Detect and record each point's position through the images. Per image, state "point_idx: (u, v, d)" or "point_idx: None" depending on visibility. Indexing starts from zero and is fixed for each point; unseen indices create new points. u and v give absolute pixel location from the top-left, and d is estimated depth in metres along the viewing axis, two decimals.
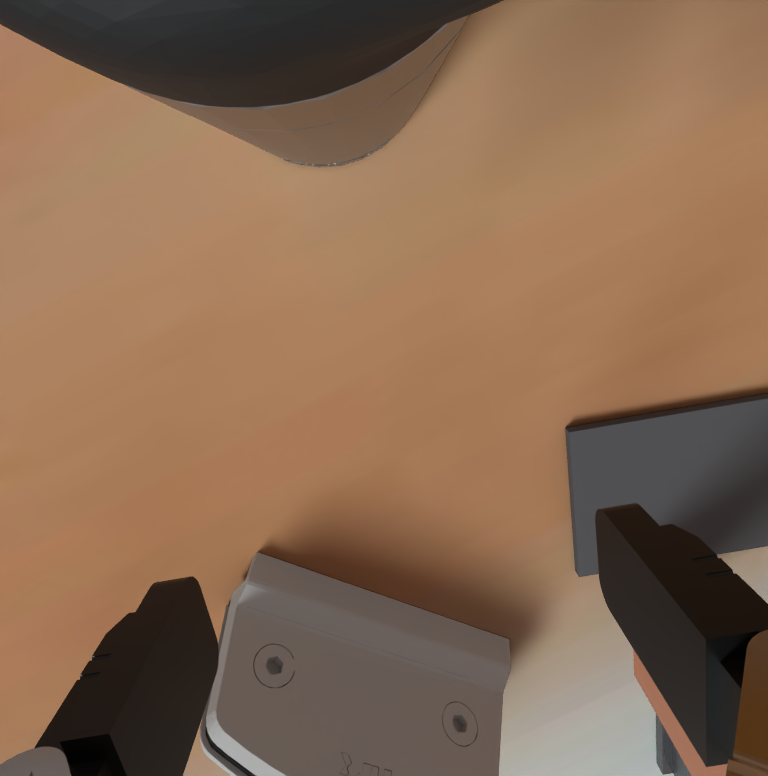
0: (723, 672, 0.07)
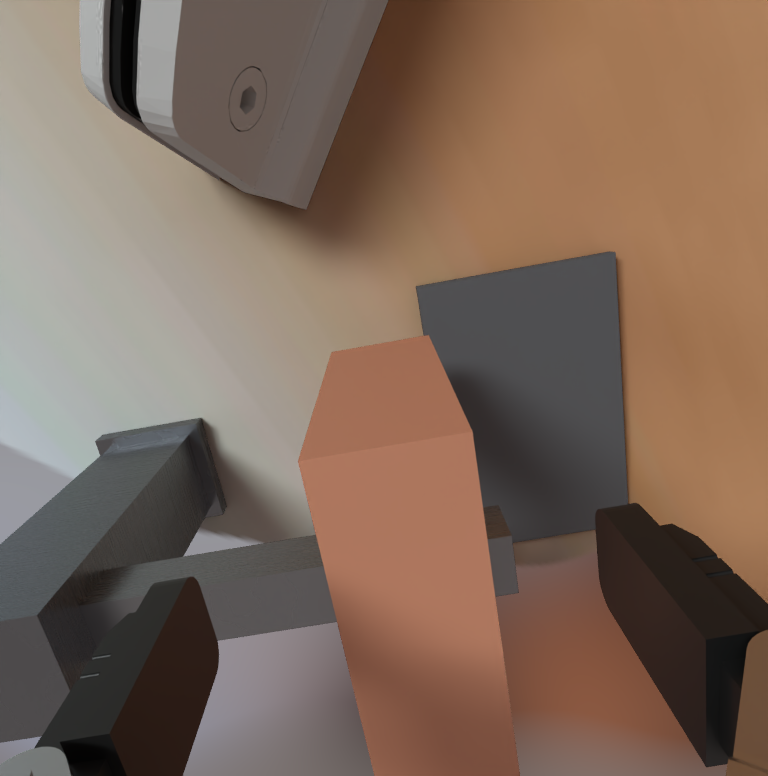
0: (722, 671, 0.07)
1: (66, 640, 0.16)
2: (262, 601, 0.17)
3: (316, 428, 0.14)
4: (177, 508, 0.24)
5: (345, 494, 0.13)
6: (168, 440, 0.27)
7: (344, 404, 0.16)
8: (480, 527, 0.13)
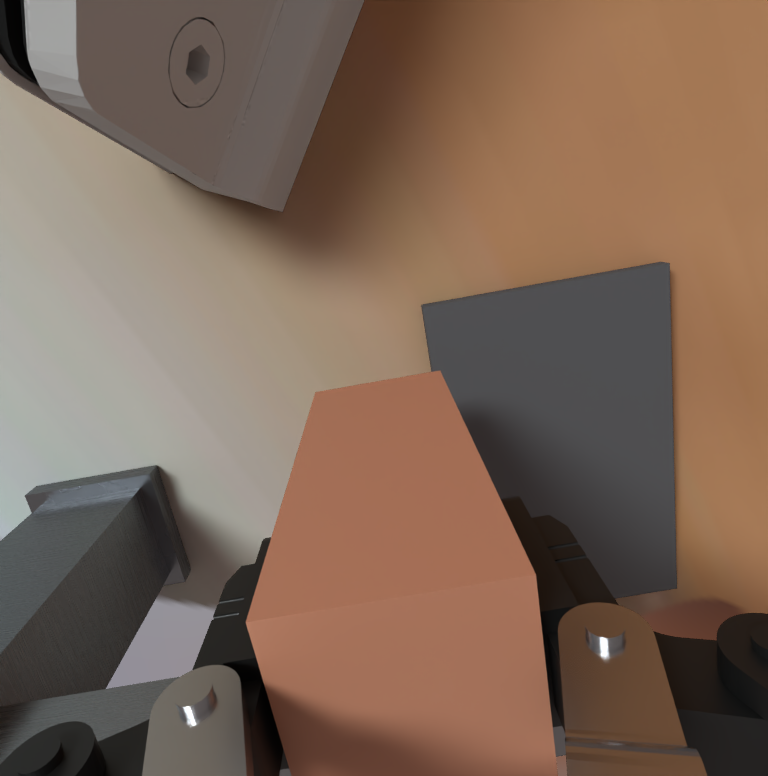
0: (550, 641, 0.08)
1: None
2: None
3: (282, 541, 0.09)
4: (121, 587, 0.19)
5: (325, 671, 0.08)
6: (115, 495, 0.22)
7: (327, 492, 0.11)
8: (543, 717, 0.08)
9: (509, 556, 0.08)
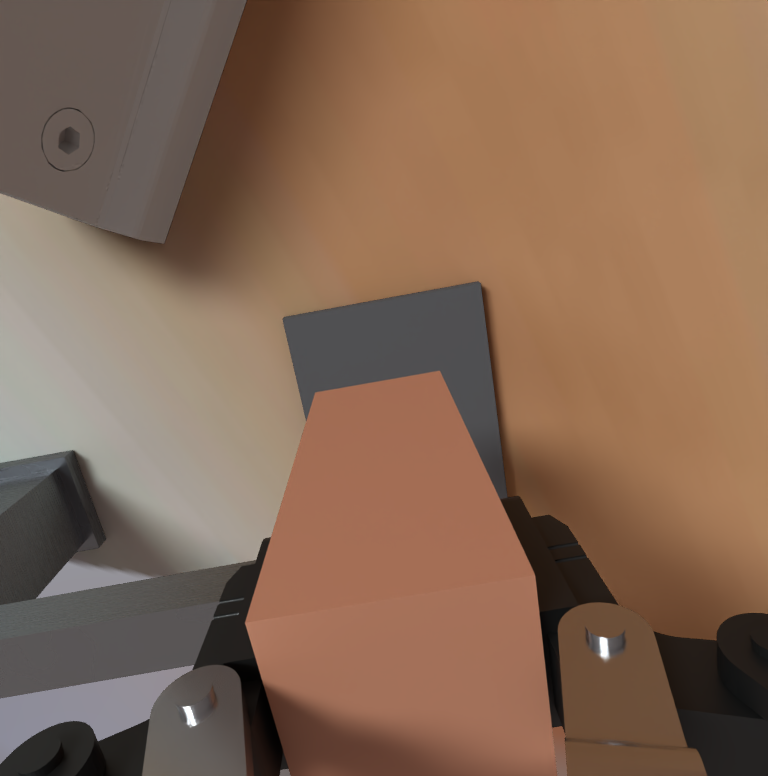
0: (550, 642, 0.08)
1: None
2: (59, 655, 0.16)
3: (282, 542, 0.09)
4: (34, 546, 0.24)
5: (324, 671, 0.08)
6: (36, 474, 0.26)
7: (326, 492, 0.11)
8: (542, 717, 0.08)
9: (508, 557, 0.08)
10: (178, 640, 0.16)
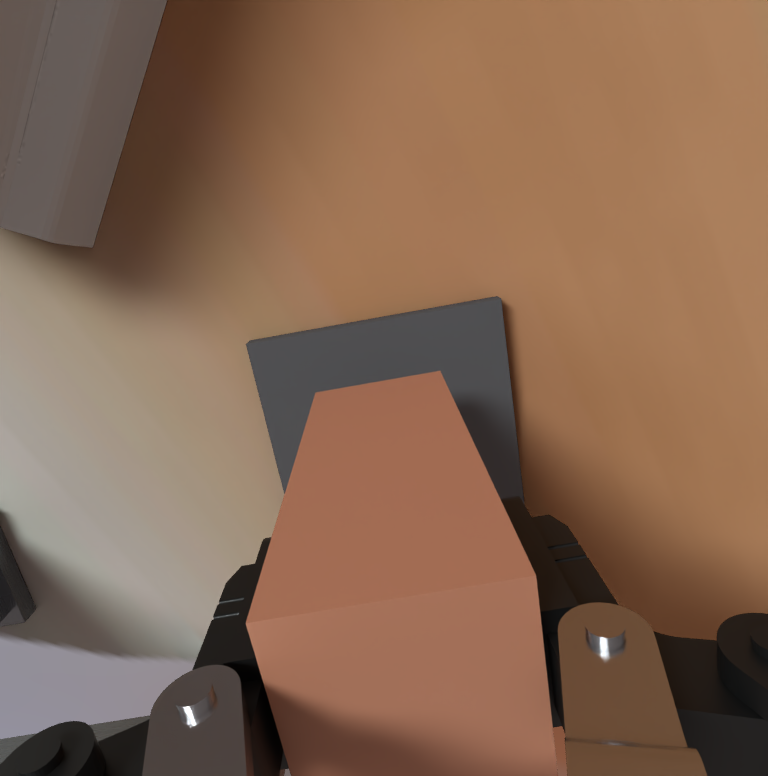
0: (551, 641, 0.08)
1: None
2: None
3: (283, 542, 0.09)
4: None
5: (325, 672, 0.08)
6: None
7: (327, 492, 0.11)
8: (543, 718, 0.08)
9: (509, 557, 0.08)
10: None
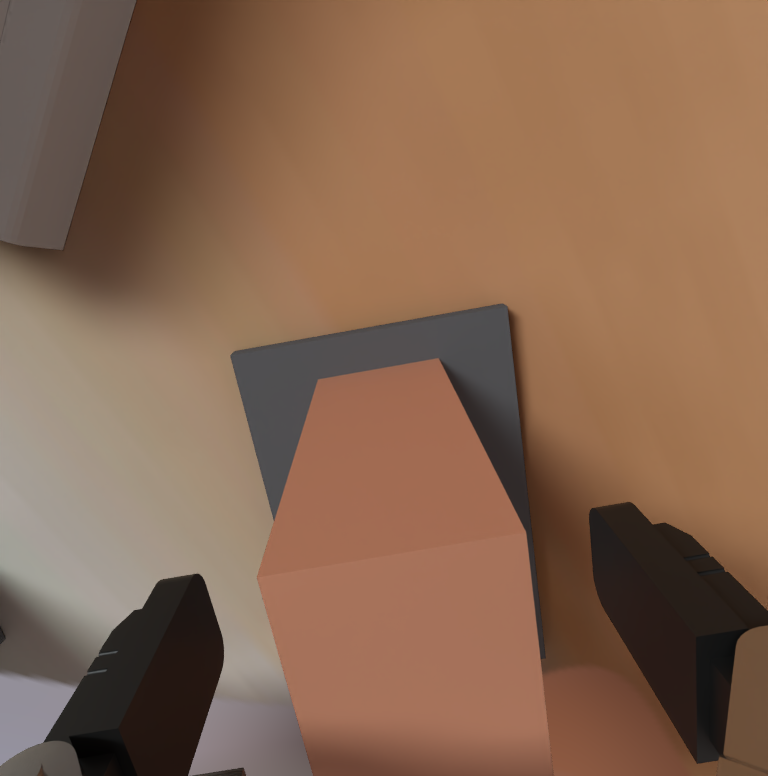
0: (713, 669, 0.07)
1: None
2: None
3: (290, 509, 0.10)
4: None
5: (330, 624, 0.08)
6: None
7: (330, 466, 0.11)
8: (534, 668, 0.09)
9: (502, 517, 0.09)
10: None
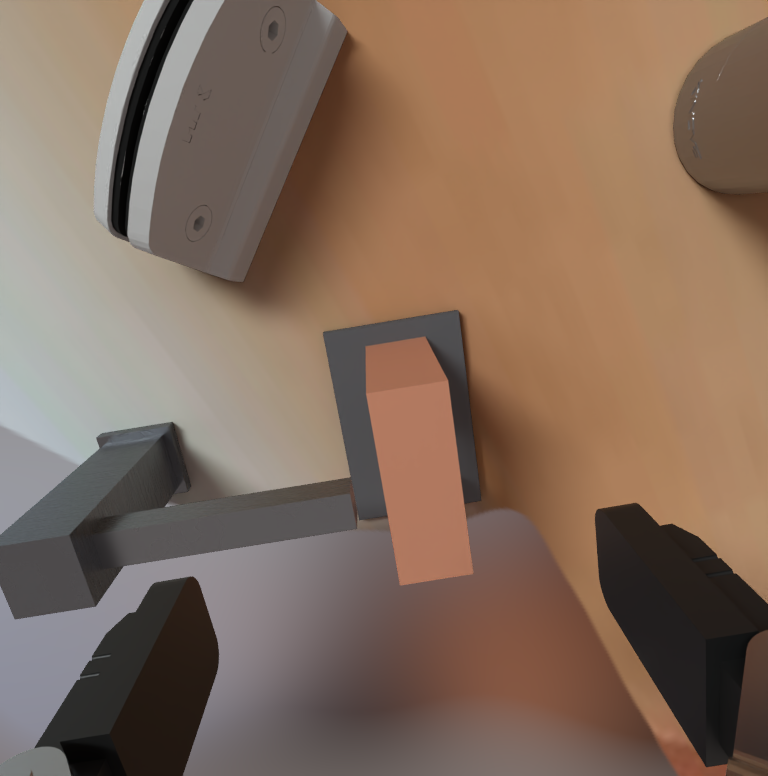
0: (722, 672, 0.07)
1: (84, 553, 0.27)
2: (202, 533, 0.28)
3: (370, 381, 0.29)
4: (154, 484, 0.35)
5: (387, 410, 0.27)
6: (148, 437, 0.38)
7: (381, 371, 0.30)
8: (451, 427, 0.27)
9: (441, 378, 0.27)
10: (272, 525, 0.28)
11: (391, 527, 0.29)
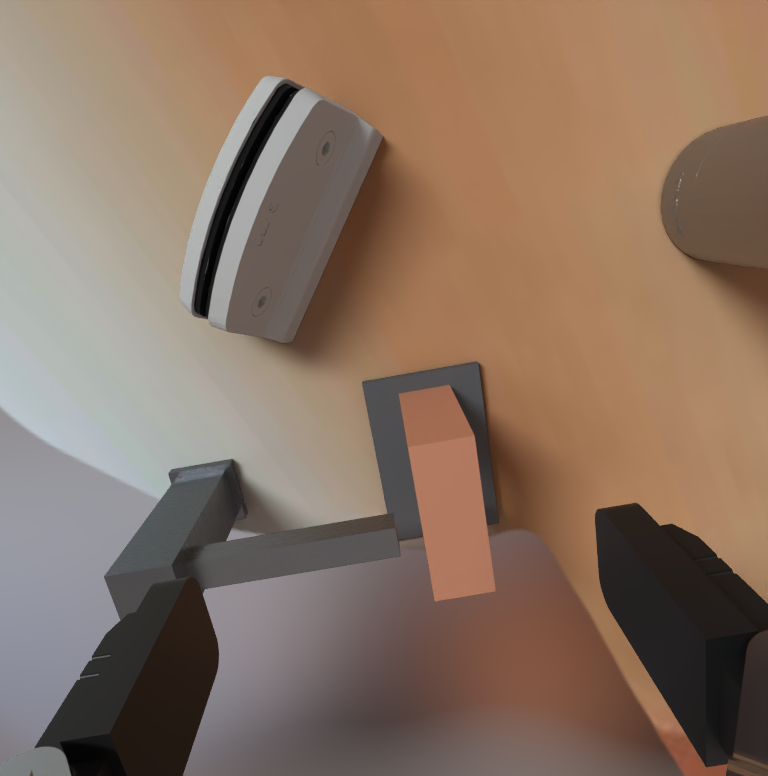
0: (722, 671, 0.07)
1: None
2: (274, 560, 0.34)
3: (409, 434, 0.35)
4: (221, 515, 0.42)
5: (425, 460, 0.33)
6: (213, 473, 0.44)
7: (417, 424, 0.36)
8: (477, 473, 0.34)
9: (469, 433, 0.33)
10: (331, 554, 0.34)
11: (428, 554, 0.35)
